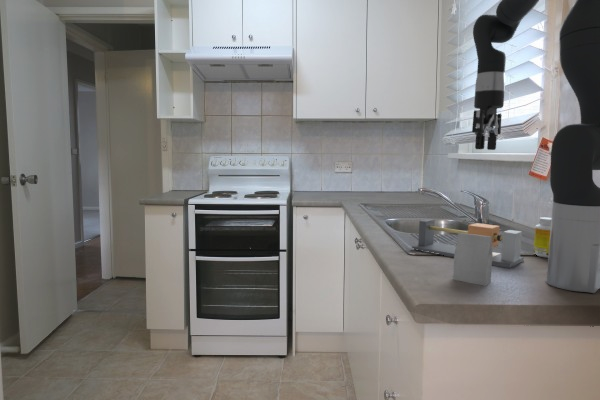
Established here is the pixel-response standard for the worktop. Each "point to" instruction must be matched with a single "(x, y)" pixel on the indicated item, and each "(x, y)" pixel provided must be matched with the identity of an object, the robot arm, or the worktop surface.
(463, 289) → the worktop surface
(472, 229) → the sleeve
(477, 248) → the grey tapered slab
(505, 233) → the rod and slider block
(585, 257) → the robot arm
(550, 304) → the worktop surface
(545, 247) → the supplement bottle
